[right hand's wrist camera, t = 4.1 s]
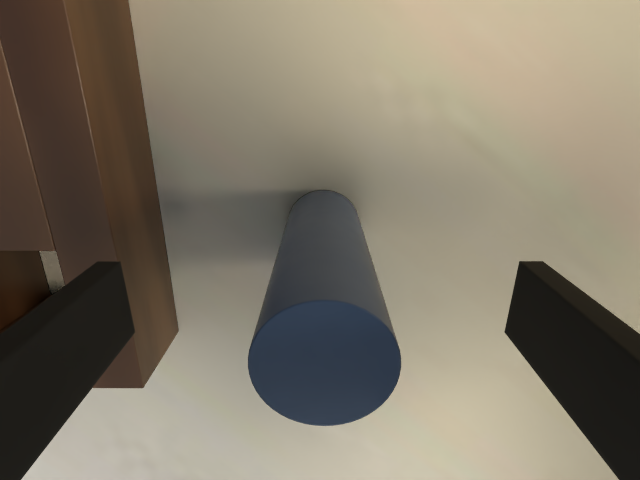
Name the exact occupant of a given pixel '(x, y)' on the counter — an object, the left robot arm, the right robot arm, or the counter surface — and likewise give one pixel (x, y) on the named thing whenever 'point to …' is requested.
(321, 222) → the peg
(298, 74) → the counter surface
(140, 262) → the peg block
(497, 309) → the counter surface
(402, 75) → the counter surface
